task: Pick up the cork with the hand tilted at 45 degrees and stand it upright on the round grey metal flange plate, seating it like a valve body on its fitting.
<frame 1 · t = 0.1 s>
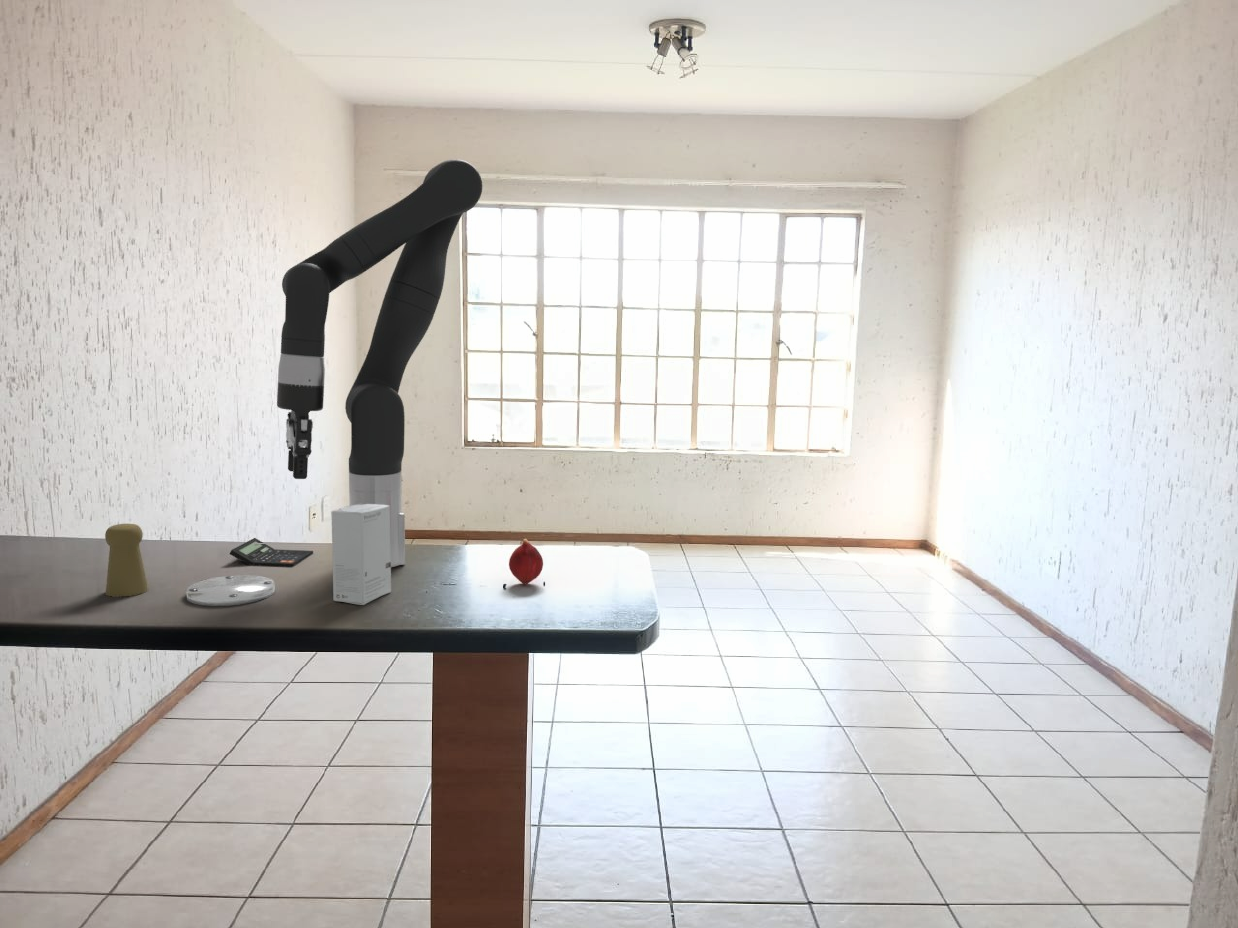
hand: (297, 474, 151), 17 cm above the breakfast bar, tool pointing down, fingers open, 8 cm apart
onion: (525, 585, 150), on the breakfast bar
flange: (231, 593, 140), on the breakfast bar
calculator: (272, 561, 162), on the breakfast bar
cork: (127, 592, 140), on the breakfast bar
skincare box: (362, 597, 141), on the breakfast bar
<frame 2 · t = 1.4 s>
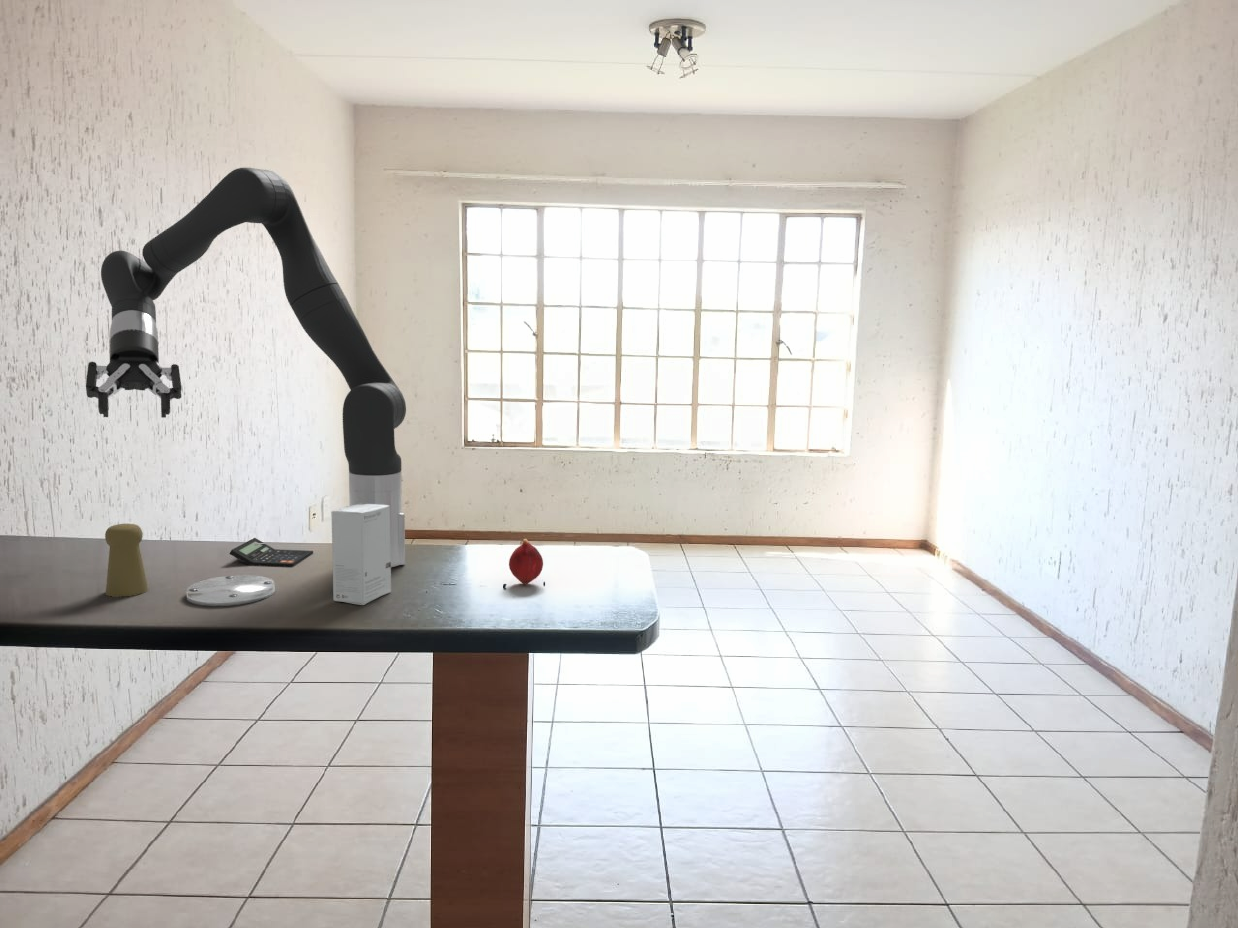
hand: (135, 414, 146), 27 cm above the breakfast bar, tool tilted 45°, fingers open, 8 cm apart
nothing on the breakfast bar moved.
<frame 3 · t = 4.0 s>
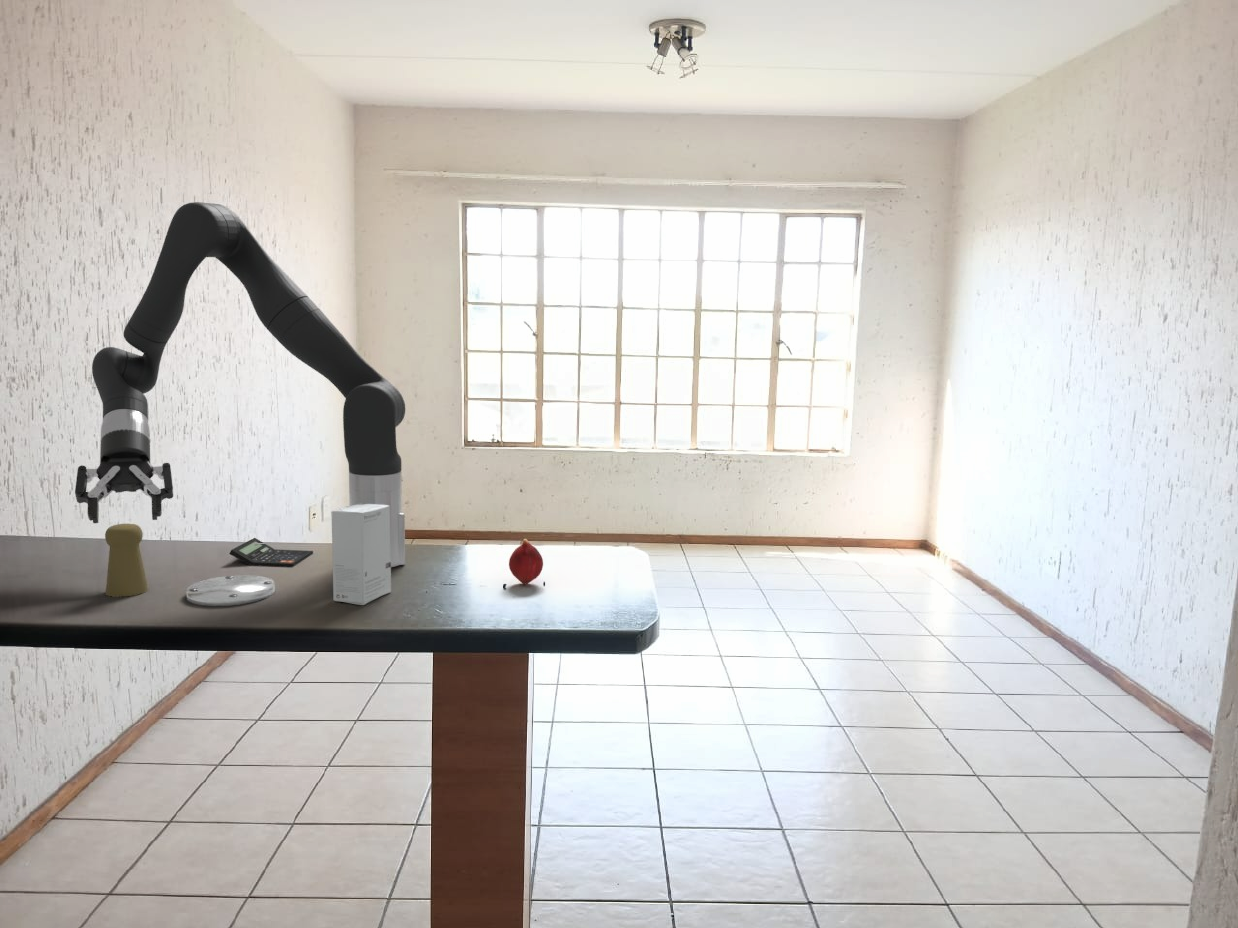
hand: (125, 519, 143), 11 cm above the breakfast bar, tool tilted 45°, fingers open, 8 cm apart
nothing on the breakfast bar moved.
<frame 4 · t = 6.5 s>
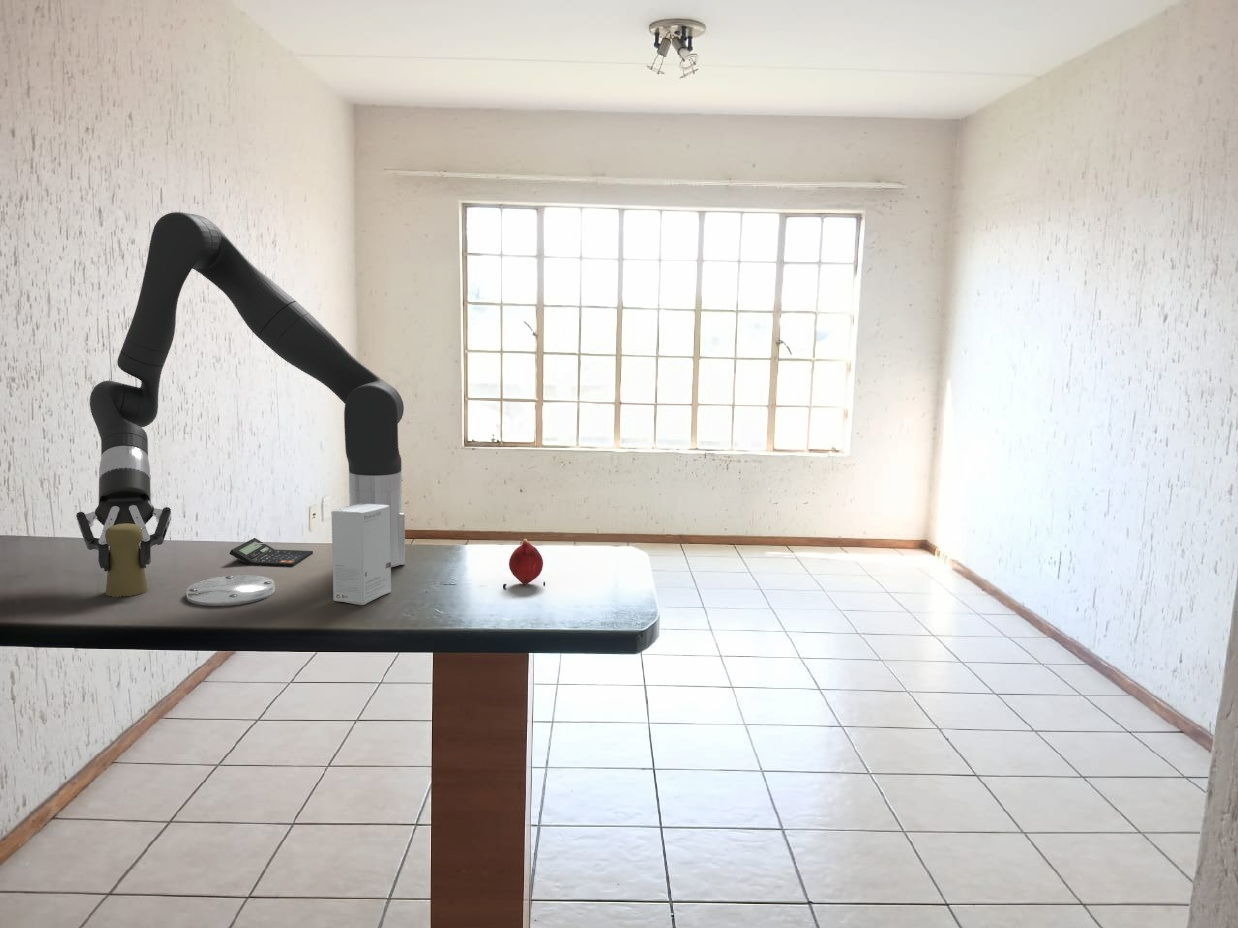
hand: (125, 566, 137), 5 cm above the breakfast bar, tool tilted 45°, fingers closed on cork, 4 cm apart
cork: (127, 592, 140), on the breakfast bar, touching gripper
everything else where it was.
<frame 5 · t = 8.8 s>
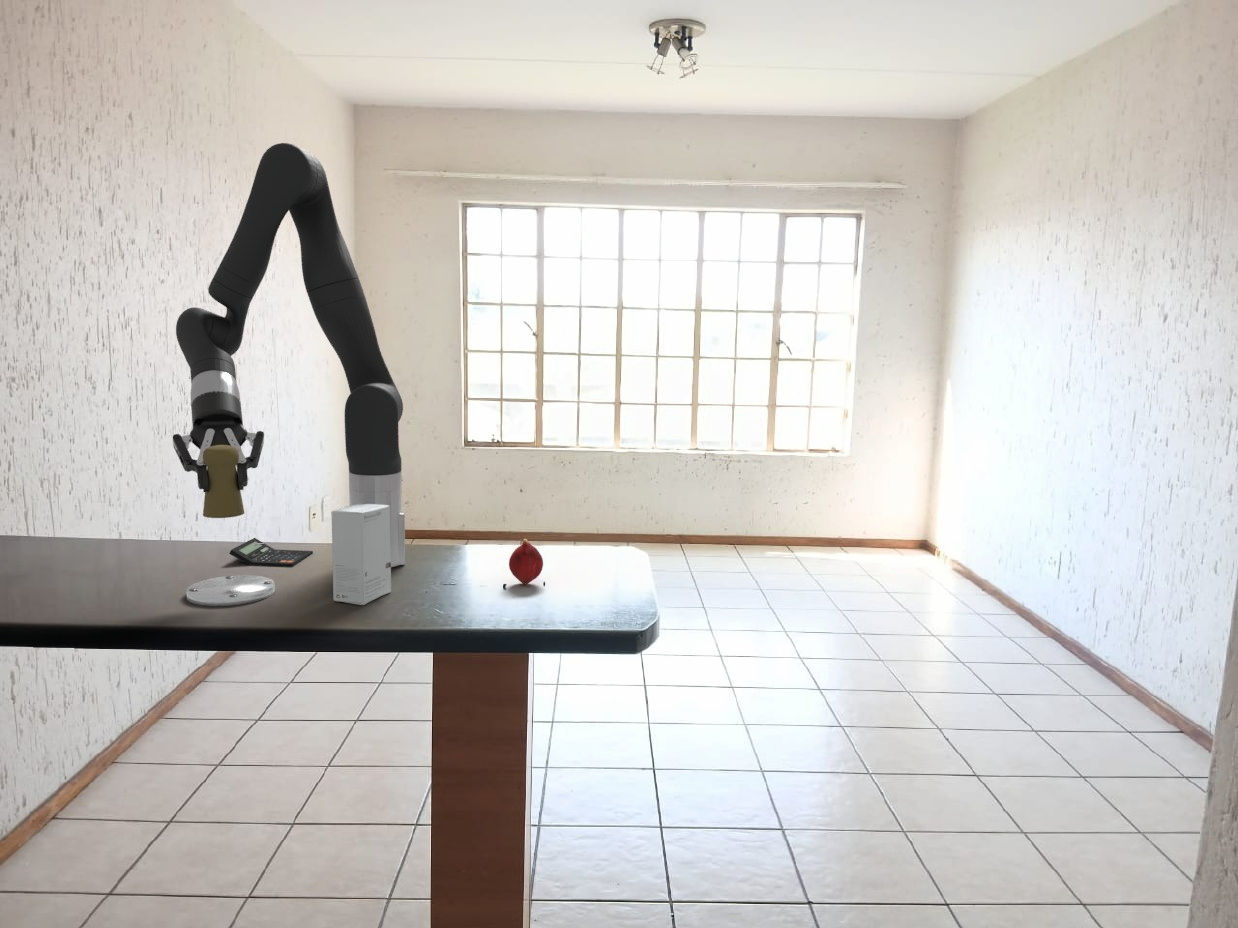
hand: (223, 487, 136), 18 cm above the breakfast bar, tool tilted 45°, fingers closed on cork, 4 cm apart
cork: (223, 515, 138), point 13 cm above the breakfast bar, touching gripper
everything else where it was.
when the fingers open (6 cm above the breakfast bar, at t = 11.6 s): cork moves 1 cm, resting on flange.
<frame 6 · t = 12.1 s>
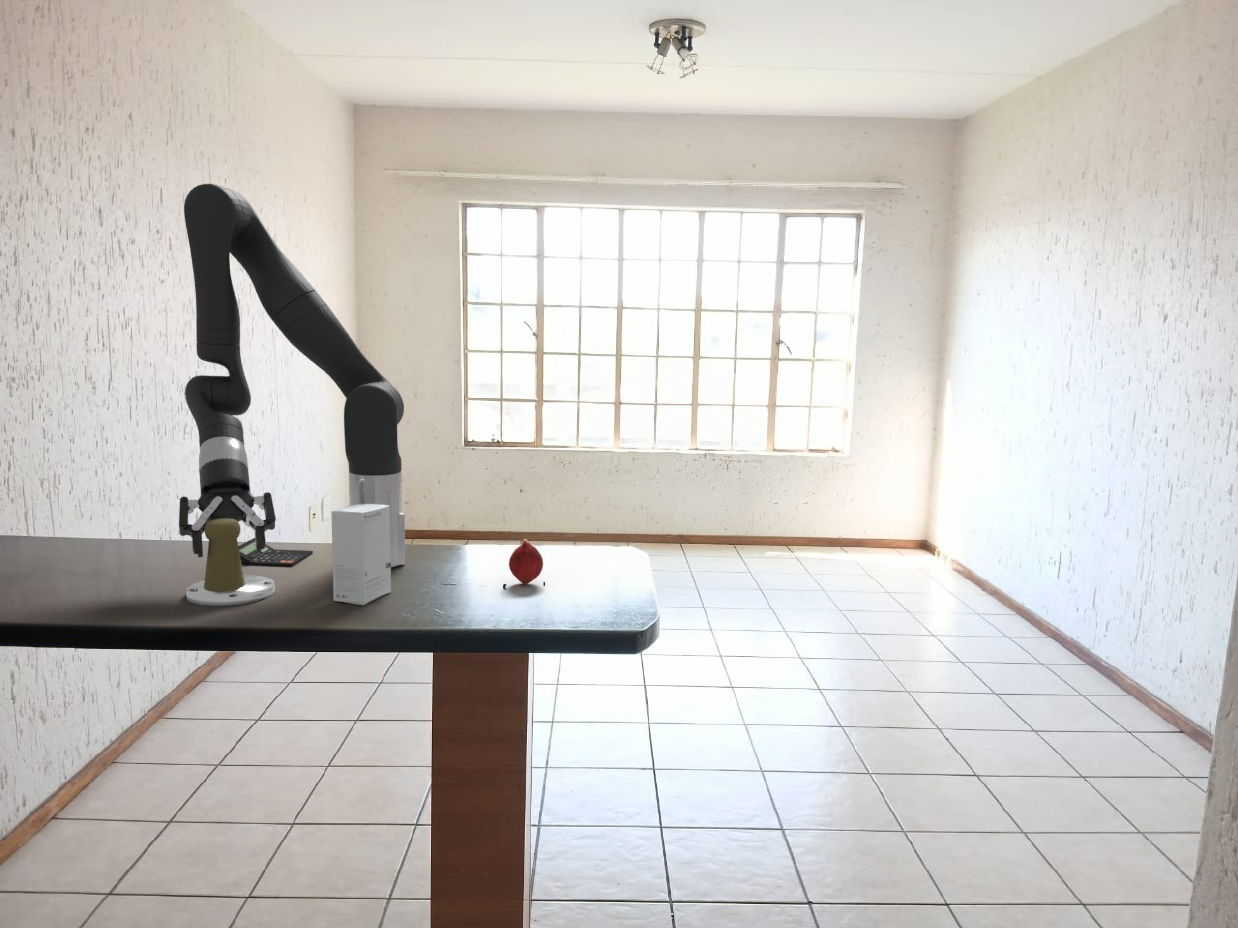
hand: (230, 552, 138), 7 cm above the breakfast bar, tool tilted 45°, fingers open, 8 cm apart
cork: (224, 586, 140), point 1 cm above the breakfast bar, touching flange
everything else where it was.
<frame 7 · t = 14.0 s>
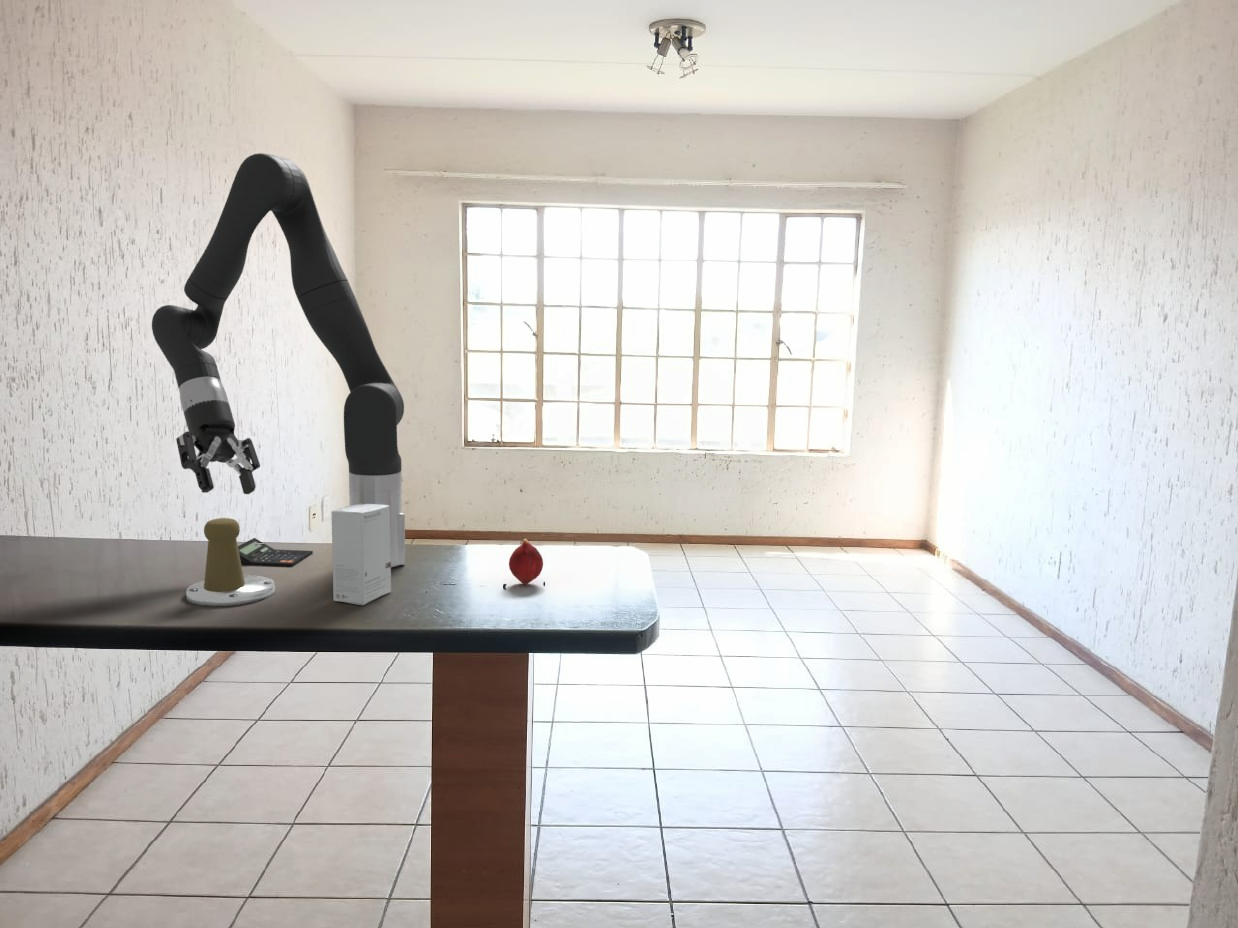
hand: (229, 491, 150), 14 cm above the breakfast bar, tool tilted 30°, fingers open, 8 cm apart
nothing on the breakfast bar moved.
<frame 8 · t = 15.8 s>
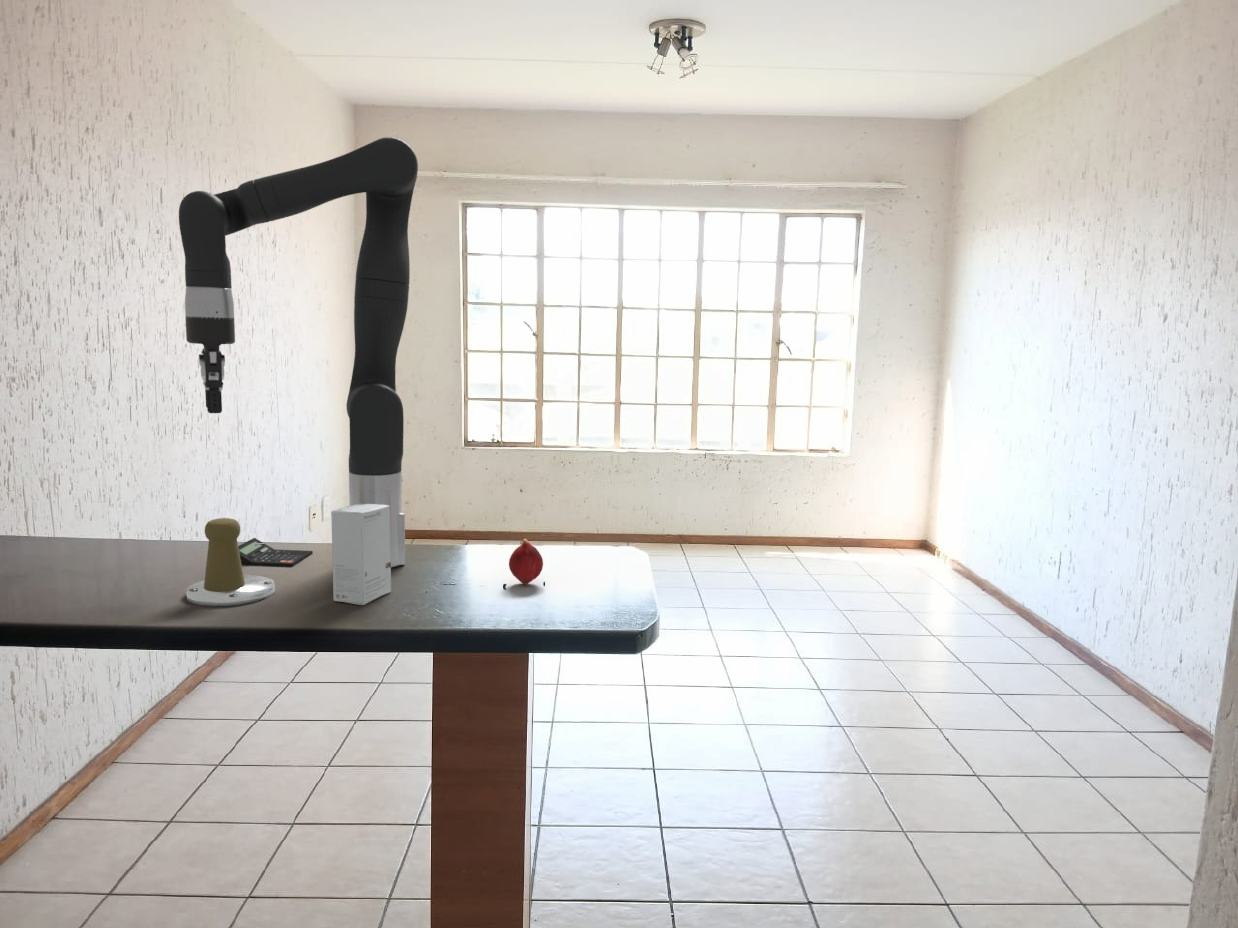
hand: (213, 410, 150), 28 cm above the breakfast bar, tool pointing down, fingers open, 8 cm apart
nothing on the breakfast bar moved.
at the end: cork 1.1 cm from the flange (horizontally); cork tilted 0°; cork point 1.0 cm above the breakfast bar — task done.
